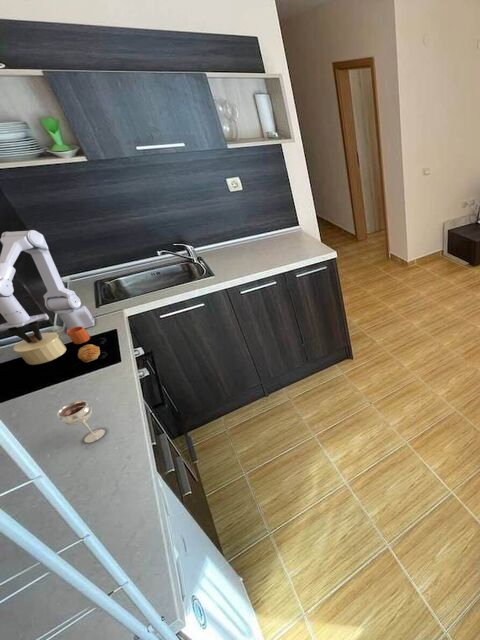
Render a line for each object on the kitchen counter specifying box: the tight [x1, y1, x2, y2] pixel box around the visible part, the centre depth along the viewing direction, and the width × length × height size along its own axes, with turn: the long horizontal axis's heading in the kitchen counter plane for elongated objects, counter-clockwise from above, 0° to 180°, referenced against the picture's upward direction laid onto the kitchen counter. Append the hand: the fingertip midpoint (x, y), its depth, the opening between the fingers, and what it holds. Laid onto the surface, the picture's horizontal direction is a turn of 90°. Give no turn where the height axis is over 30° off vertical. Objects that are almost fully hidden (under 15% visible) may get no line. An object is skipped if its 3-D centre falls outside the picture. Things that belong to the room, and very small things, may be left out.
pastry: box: [77, 343, 101, 364], centre depth 138 cm, size 9×7×4 cm
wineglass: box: [56, 399, 106, 444], centre depth 103 cm, size 7×7×12 cm
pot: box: [17, 337, 67, 366], centre depth 139 cm, size 12×12×6 cm
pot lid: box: [13, 331, 60, 353], centre depth 136 cm, size 13×13×4 cm
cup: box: [66, 326, 91, 345], centre depth 148 cm, size 5×6×6 cm
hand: (35, 340), depth 137 cm, fingers closed on pot lid, 2 cm apart
